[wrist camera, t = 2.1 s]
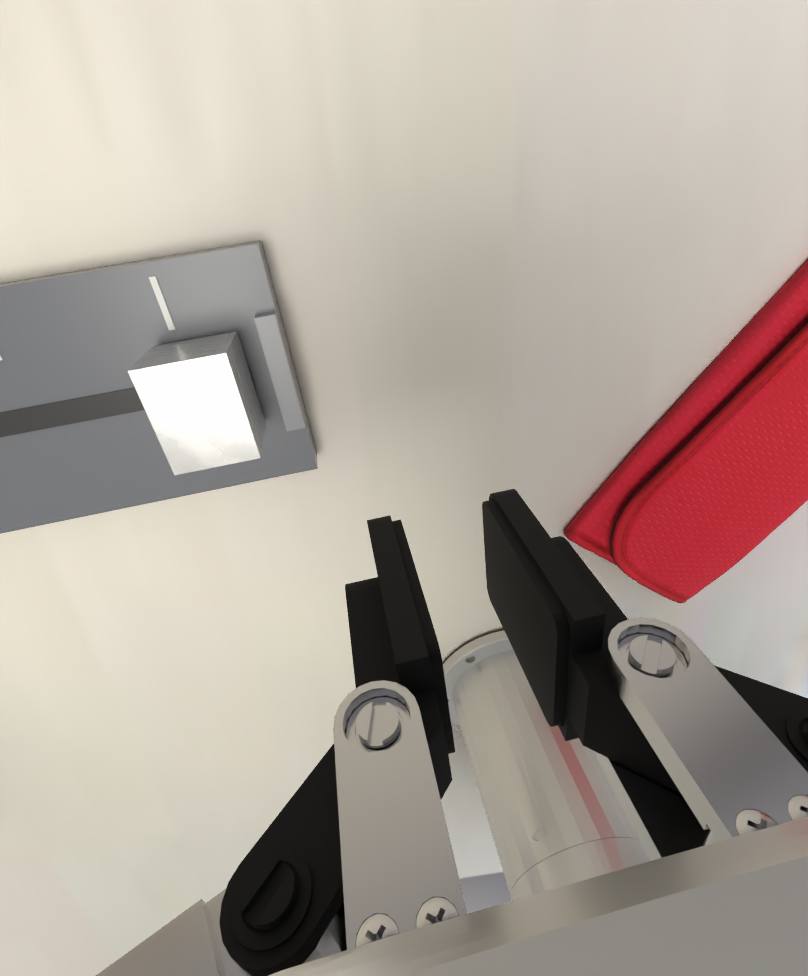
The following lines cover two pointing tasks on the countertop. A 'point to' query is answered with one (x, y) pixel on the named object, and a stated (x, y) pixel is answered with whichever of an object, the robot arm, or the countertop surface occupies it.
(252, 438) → the fader knob
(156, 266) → the fader console
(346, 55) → the countertop surface
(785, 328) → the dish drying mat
